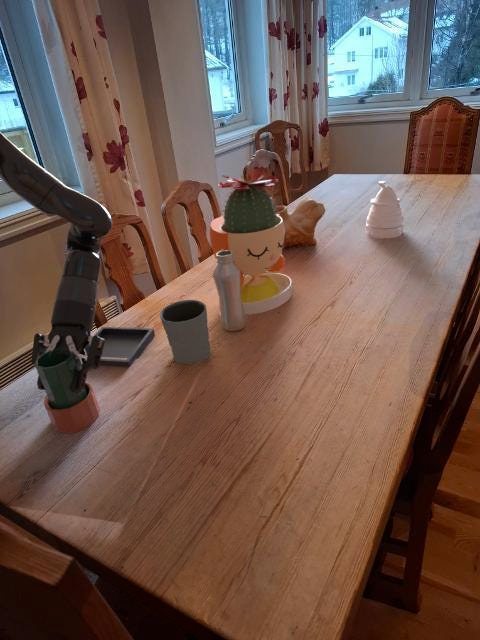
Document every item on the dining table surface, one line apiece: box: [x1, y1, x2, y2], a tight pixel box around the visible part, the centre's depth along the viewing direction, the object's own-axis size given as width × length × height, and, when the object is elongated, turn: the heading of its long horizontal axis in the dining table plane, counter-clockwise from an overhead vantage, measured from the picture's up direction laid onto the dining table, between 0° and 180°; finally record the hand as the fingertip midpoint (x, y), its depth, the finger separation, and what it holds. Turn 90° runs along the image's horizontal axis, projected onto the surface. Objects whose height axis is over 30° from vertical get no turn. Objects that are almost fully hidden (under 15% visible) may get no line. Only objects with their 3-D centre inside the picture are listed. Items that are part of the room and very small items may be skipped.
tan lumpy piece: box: [275, 197, 326, 251], centre depth 154 cm, size 14×26×15 cm, turn 103°
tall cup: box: [34, 348, 88, 409], centre depth 80 cm, size 6×7×14 cm
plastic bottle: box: [212, 251, 247, 332], centre depth 104 cm, size 6×7×20 cm
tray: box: [85, 326, 156, 368], centre depth 105 cm, size 15×15×2 cm
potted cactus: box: [209, 165, 293, 315], centre depth 115 cm, size 22×22×35 cm
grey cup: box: [159, 299, 212, 365], centre depth 96 cm, size 10×10×12 cm
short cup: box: [43, 381, 101, 434], centre depth 82 cm, size 9×9×6 cm
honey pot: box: [365, 180, 405, 239], centre depth 153 cm, size 13×13×18 cm
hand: (59, 390), depth 78 cm, fingers closed on tall cup, 6 cm apart
